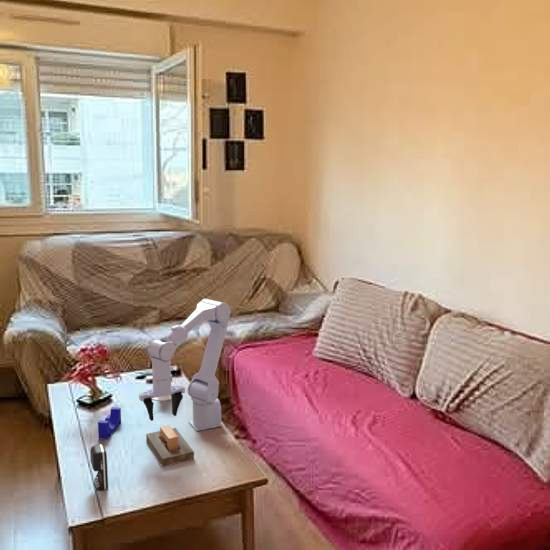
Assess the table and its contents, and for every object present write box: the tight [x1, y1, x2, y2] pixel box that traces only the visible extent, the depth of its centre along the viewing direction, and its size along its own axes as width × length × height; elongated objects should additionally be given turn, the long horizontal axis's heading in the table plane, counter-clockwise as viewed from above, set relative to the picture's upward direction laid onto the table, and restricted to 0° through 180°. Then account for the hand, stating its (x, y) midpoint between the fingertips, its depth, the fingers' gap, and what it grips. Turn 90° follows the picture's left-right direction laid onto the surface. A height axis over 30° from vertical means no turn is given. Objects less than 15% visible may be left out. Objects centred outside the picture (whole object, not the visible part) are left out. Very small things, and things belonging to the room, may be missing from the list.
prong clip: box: [159, 424, 178, 452], centre depth 189 cm, size 3×9×6 cm, turn 28°
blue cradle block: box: [97, 406, 122, 440], centre depth 201 cm, size 12×4×6 cm, turn 173°
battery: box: [89, 444, 109, 491], centre depth 168 cm, size 7×4×11 cm, turn 25°
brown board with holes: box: [145, 427, 195, 467], centre depth 189 cm, size 10×18×2 cm, turn 27°
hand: (162, 417), depth 191 cm, fingers open, 7 cm apart
